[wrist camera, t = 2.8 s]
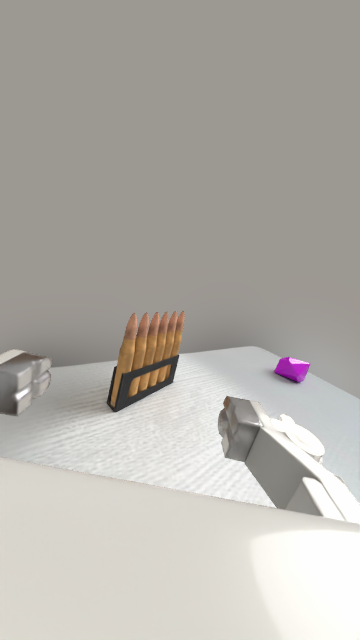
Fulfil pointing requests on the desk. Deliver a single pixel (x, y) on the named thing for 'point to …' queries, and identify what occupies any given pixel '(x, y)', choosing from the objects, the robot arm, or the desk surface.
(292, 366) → the crystal
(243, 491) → the desk surface
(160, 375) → the ammunition clip
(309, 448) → the white lobed figurine
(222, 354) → the desk surface
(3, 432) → the desk surface
